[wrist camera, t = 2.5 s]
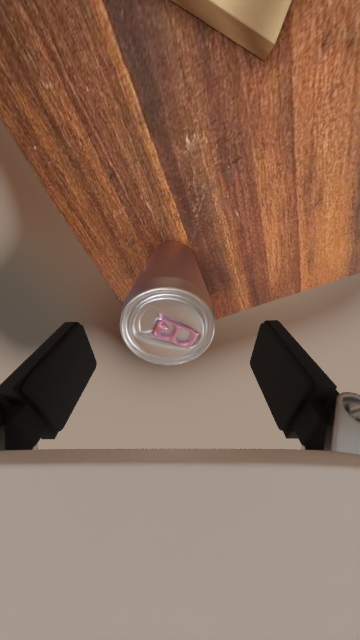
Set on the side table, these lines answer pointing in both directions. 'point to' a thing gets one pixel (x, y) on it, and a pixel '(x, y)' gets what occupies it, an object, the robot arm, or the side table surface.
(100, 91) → the side table surface
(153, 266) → the beverage can
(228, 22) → the serving board
